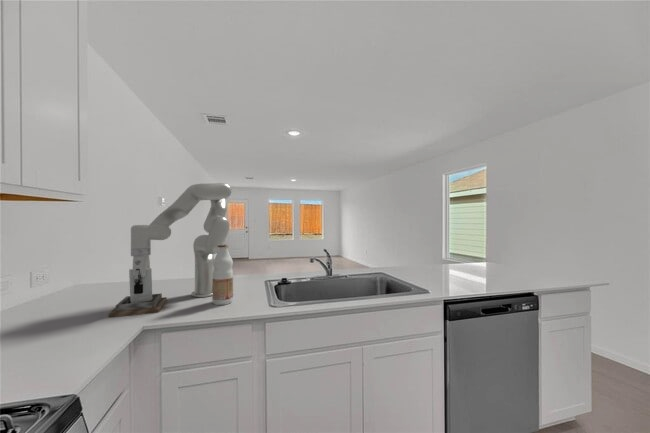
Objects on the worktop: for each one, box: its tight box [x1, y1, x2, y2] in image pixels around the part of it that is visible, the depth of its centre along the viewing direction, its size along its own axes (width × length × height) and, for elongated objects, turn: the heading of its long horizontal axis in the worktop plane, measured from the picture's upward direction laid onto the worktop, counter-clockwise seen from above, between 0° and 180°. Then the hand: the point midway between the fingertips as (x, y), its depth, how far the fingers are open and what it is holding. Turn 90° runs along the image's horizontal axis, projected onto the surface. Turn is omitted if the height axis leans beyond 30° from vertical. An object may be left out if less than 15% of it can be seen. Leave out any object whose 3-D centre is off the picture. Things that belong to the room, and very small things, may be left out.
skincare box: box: [128, 266, 153, 304], centre depth 125 cm, size 8×6×15 cm
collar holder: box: [108, 292, 168, 318], centre depth 124 cm, size 18×18×4 cm
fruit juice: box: [211, 243, 234, 306], centre depth 133 cm, size 9×9×28 cm
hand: (140, 291), depth 125 cm, fingers closed on skincare box, 7 cm apart
